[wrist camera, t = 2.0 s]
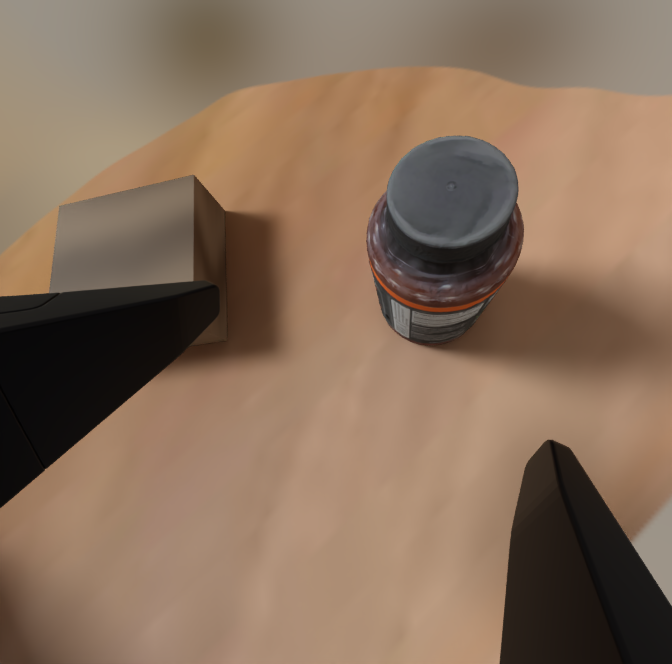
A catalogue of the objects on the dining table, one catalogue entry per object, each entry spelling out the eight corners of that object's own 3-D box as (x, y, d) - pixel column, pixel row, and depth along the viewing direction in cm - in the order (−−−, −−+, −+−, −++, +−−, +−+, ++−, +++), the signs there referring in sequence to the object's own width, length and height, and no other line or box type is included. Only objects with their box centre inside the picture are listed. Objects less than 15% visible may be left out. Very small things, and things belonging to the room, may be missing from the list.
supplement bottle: (386, 253, 23) (369, 105, 12) (483, 259, 22) (561, 100, 11) (373, 342, 22) (342, 266, 11) (475, 354, 20) (554, 282, 10)
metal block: (227, 340, 24) (193, 325, 20) (97, 359, 25) (42, 349, 21) (224, 210, 26) (193, 174, 22) (107, 235, 28) (59, 206, 24)
